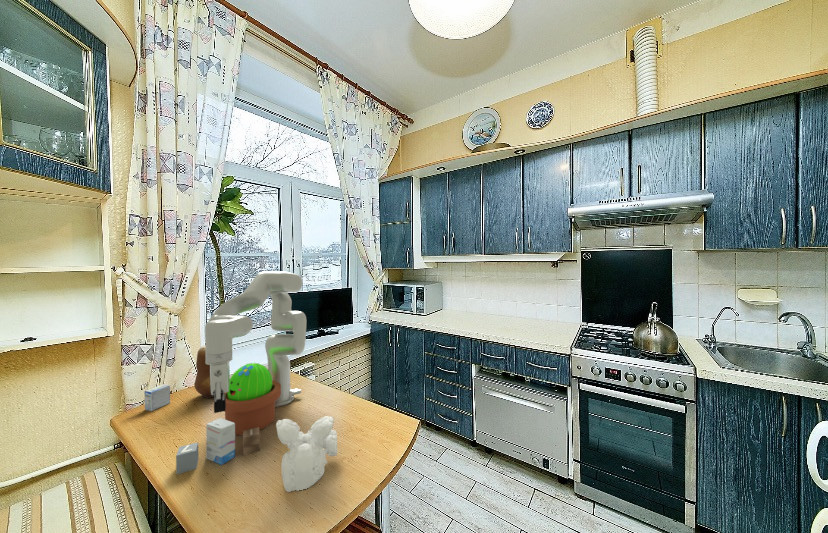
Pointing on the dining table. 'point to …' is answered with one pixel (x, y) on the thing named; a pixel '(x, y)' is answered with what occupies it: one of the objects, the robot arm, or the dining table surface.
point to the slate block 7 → (187, 458)
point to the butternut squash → (203, 374)
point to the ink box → (220, 441)
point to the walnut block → (251, 441)
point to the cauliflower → (305, 452)
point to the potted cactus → (251, 398)
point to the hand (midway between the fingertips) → (220, 410)
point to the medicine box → (157, 397)
